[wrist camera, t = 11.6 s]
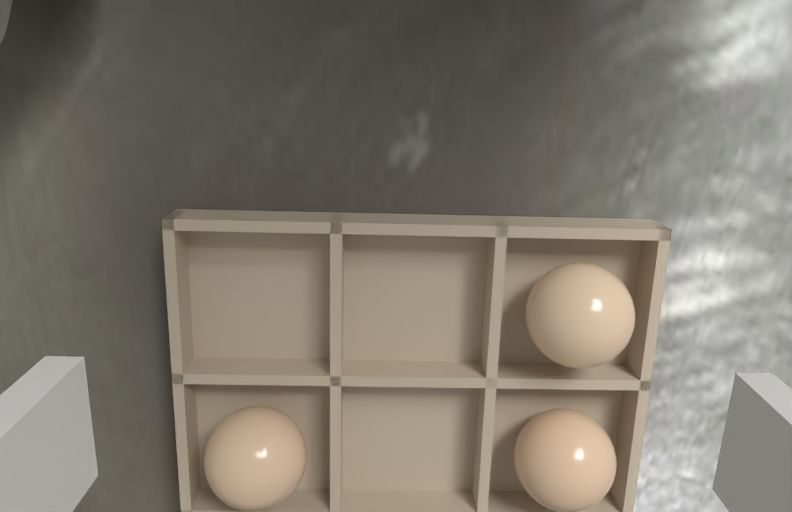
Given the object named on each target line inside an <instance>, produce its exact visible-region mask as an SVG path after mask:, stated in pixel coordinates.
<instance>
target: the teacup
mask: <svg viewBox="0 0 792 512" xmlns="http://www.w3.org/2000/svg"><path fill="white" fill-rule="evenodd" d="M12 2H13V0H0V44H1V42H2V40H3V38H4V36H5V33H6V29H7V25H8V21H9V17H10V12H11V7H12Z"/></svg>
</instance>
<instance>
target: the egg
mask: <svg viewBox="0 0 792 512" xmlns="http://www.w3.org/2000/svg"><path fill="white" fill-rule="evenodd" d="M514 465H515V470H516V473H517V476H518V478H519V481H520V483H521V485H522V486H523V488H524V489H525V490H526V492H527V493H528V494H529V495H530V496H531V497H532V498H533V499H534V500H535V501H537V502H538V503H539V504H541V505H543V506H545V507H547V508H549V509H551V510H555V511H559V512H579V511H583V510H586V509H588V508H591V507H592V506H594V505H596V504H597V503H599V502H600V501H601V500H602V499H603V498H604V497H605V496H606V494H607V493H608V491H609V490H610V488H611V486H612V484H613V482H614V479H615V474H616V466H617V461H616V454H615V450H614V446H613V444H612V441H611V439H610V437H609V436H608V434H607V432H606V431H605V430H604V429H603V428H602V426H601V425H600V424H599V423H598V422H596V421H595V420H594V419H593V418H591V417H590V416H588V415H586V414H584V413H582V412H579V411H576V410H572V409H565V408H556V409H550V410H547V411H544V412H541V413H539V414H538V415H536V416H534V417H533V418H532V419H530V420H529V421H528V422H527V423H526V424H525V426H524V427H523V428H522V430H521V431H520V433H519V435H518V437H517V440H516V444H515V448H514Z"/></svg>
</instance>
